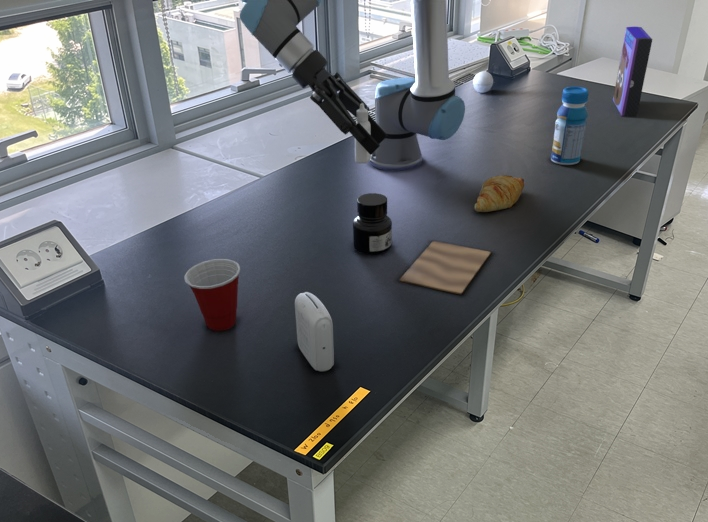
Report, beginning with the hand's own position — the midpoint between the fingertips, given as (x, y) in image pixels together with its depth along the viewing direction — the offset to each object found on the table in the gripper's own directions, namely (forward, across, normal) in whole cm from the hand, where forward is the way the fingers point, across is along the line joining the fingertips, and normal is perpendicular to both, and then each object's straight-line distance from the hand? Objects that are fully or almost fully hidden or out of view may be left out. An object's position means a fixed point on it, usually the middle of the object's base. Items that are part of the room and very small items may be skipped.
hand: (379, 144), depth 155 cm
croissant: (+34, -32, -1) cm, 46 cm away
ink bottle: (+16, +1, -18) cm, 25 cm away
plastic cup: (+2, +40, -33) cm, 52 cm away
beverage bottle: (+44, -65, +9) cm, 79 cm away
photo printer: (+17, +46, -17) cm, 52 cm away
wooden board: (+29, +6, -5) cm, 30 cm away
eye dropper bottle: (0, 0, -5) cm, 5 cm away
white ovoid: (+21, -127, -14) cm, 129 cm away
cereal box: (+55, -118, +21) cm, 132 cm away
